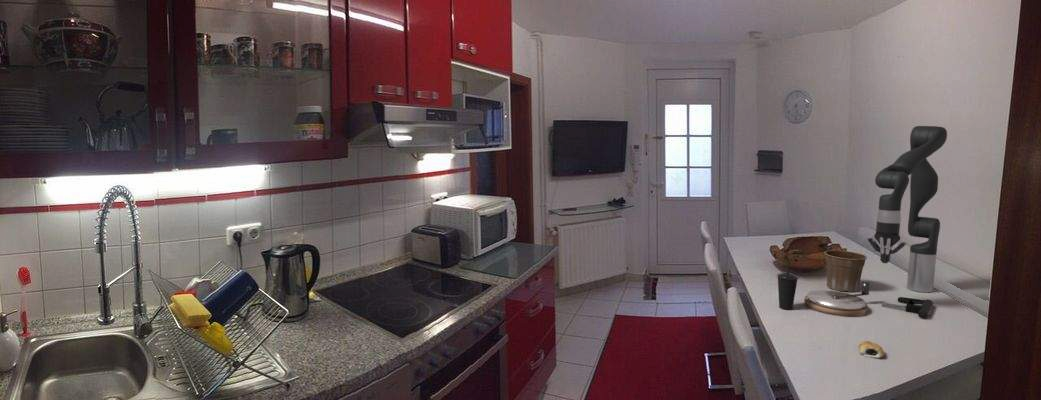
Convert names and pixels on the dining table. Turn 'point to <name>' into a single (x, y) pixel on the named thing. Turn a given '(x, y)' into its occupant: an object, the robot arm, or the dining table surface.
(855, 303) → the dial
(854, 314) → the dial base
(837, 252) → the plant pot
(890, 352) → the dining table surface
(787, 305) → the drinking cup
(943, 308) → the dining table surface
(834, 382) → the dining table surface
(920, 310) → the door handle
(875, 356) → the pastry
